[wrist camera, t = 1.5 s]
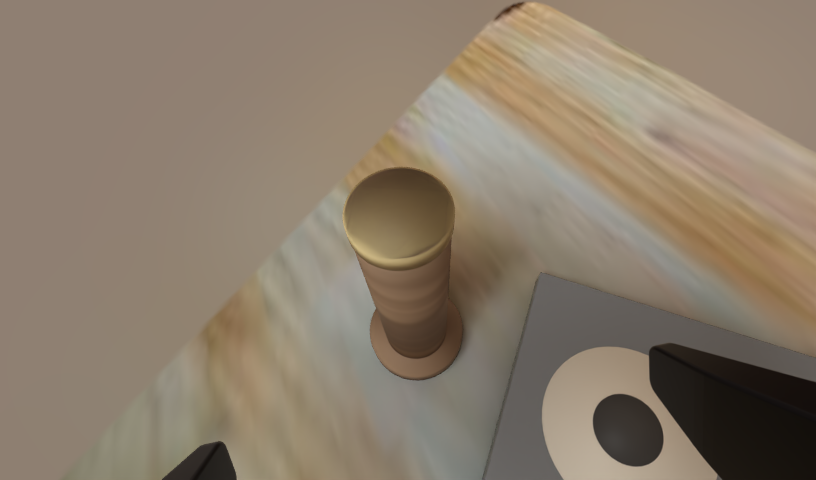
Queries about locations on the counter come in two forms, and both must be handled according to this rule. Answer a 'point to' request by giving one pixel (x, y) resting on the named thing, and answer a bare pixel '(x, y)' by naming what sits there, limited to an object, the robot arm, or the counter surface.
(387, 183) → the walnut peg
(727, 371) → the robot arm
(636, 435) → the board
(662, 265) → the counter surface
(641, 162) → the counter surface
